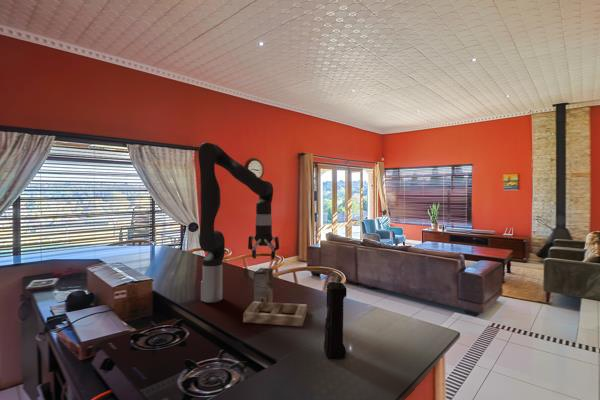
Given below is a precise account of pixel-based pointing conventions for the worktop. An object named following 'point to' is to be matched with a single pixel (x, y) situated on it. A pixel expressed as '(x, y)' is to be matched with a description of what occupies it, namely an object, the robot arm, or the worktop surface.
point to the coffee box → (263, 285)
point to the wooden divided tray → (275, 313)
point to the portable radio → (335, 321)
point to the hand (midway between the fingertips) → (263, 258)
